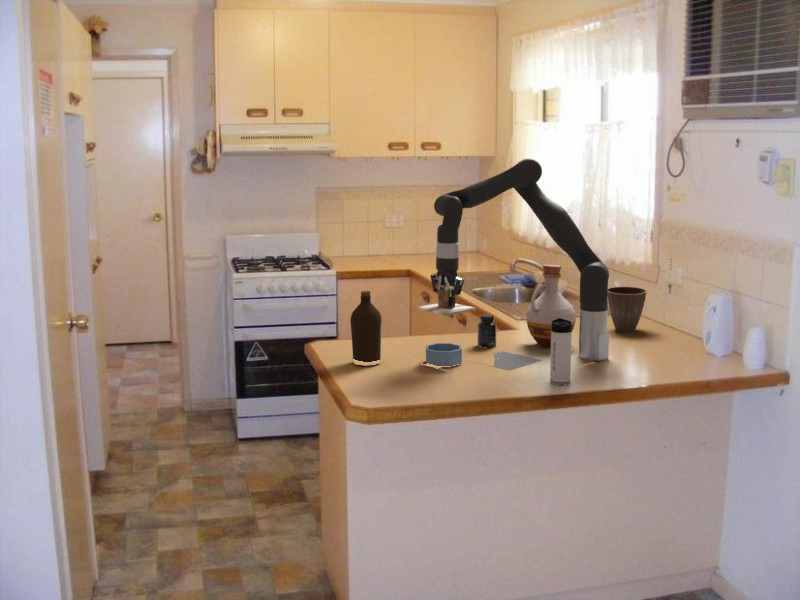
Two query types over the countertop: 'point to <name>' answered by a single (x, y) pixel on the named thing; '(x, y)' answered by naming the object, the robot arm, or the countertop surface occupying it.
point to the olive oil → (366, 330)
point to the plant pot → (626, 307)
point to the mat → (512, 360)
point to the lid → (445, 305)
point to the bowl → (444, 354)
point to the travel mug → (560, 351)
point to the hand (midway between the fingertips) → (446, 306)
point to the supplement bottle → (487, 331)
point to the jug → (548, 307)
